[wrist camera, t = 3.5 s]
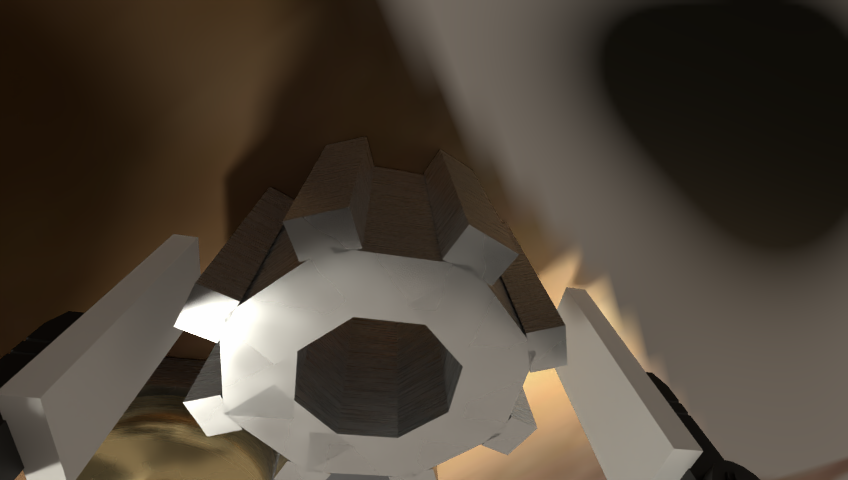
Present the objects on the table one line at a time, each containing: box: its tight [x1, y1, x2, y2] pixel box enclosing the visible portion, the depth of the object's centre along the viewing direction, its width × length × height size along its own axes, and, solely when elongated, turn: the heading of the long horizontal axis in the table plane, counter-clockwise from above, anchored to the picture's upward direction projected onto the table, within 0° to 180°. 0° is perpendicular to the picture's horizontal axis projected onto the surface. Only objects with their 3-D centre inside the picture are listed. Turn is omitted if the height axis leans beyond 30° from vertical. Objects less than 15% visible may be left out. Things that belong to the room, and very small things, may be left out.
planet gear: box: [174, 136, 567, 480], centre depth 13 cm, size 10×10×6 cm
